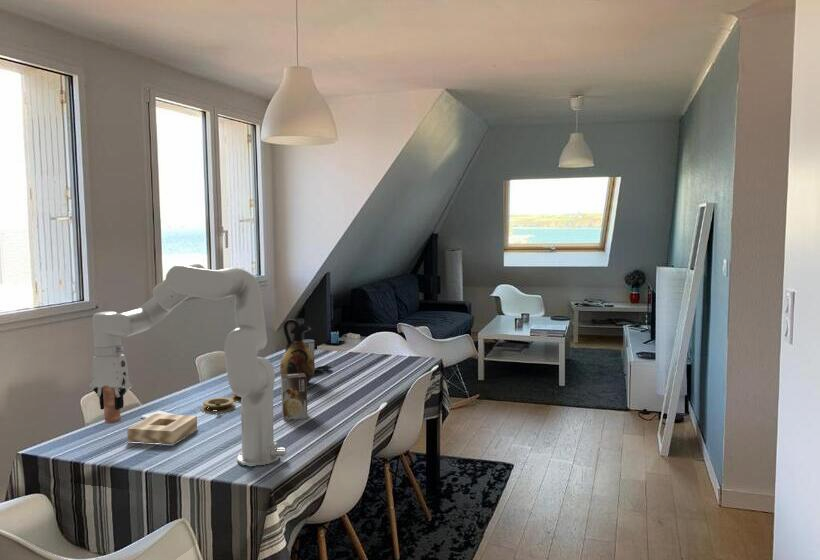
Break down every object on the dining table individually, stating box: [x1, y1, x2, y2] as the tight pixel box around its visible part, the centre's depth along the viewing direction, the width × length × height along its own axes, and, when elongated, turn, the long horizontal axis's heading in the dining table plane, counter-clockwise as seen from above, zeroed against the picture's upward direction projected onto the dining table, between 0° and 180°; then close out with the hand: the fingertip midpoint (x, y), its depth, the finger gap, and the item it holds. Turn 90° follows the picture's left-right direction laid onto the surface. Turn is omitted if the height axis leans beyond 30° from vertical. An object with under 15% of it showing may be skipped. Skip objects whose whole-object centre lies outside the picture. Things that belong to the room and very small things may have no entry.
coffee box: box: [280, 373, 308, 421], centre depth 227 cm, size 9×6×16 cm
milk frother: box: [302, 339, 332, 371], centre depth 299 cm, size 14×16×15 cm
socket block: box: [126, 414, 198, 444], centre depth 206 cm, size 16×16×5 cm
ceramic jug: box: [279, 318, 316, 387], centre depth 272 cm, size 17×15×30 cm
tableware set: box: [199, 391, 241, 414], centre depth 245 cm, size 30×20×6 cm, turn 155°
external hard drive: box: [140, 410, 176, 419], centre depth 226 cm, size 2×8×12 cm
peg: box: [103, 386, 122, 425], centre depth 191 cm, size 4×4×12 cm
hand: (112, 407), depth 191 cm, fingers closed on peg, 4 cm apart
